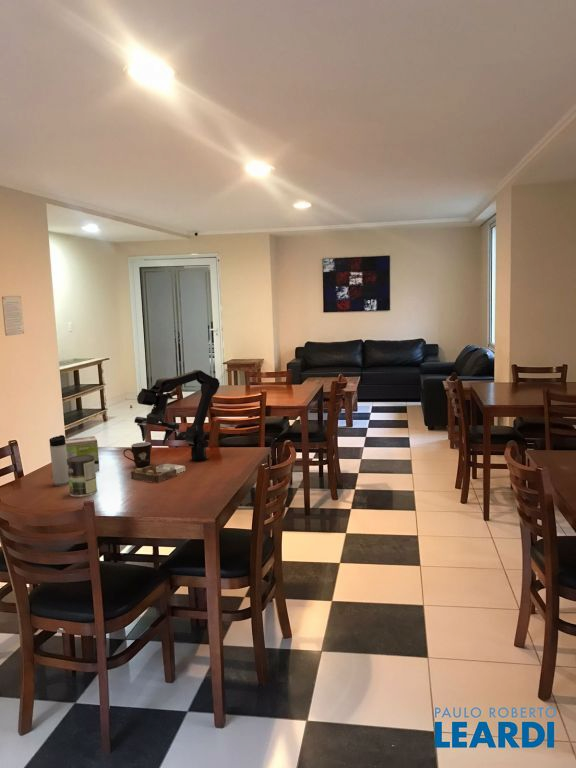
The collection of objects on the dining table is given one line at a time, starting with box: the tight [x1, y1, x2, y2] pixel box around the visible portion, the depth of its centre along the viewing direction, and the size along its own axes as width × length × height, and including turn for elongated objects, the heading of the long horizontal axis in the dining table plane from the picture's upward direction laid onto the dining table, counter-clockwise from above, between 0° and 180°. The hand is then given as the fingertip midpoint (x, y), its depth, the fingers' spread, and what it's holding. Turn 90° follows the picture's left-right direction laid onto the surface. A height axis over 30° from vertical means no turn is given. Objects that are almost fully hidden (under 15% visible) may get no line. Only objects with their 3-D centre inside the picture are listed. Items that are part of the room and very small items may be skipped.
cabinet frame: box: [130, 464, 178, 483], centre depth 259 cm, size 11×15×4 cm
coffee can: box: [67, 455, 98, 498], centre depth 242 cm, size 10×10×14 cm
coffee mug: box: [122, 441, 152, 469], centre depth 279 cm, size 12×9×10 cm
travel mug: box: [49, 434, 69, 487], centre depth 256 cm, size 6×7×20 cm
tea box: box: [65, 435, 100, 473], centre depth 274 cm, size 15×10×15 cm
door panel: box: [155, 463, 186, 475], centre depth 267 cm, size 7×11×4 cm, turn 54°
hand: (153, 442), depth 268 cm, fingers open, 9 cm apart
